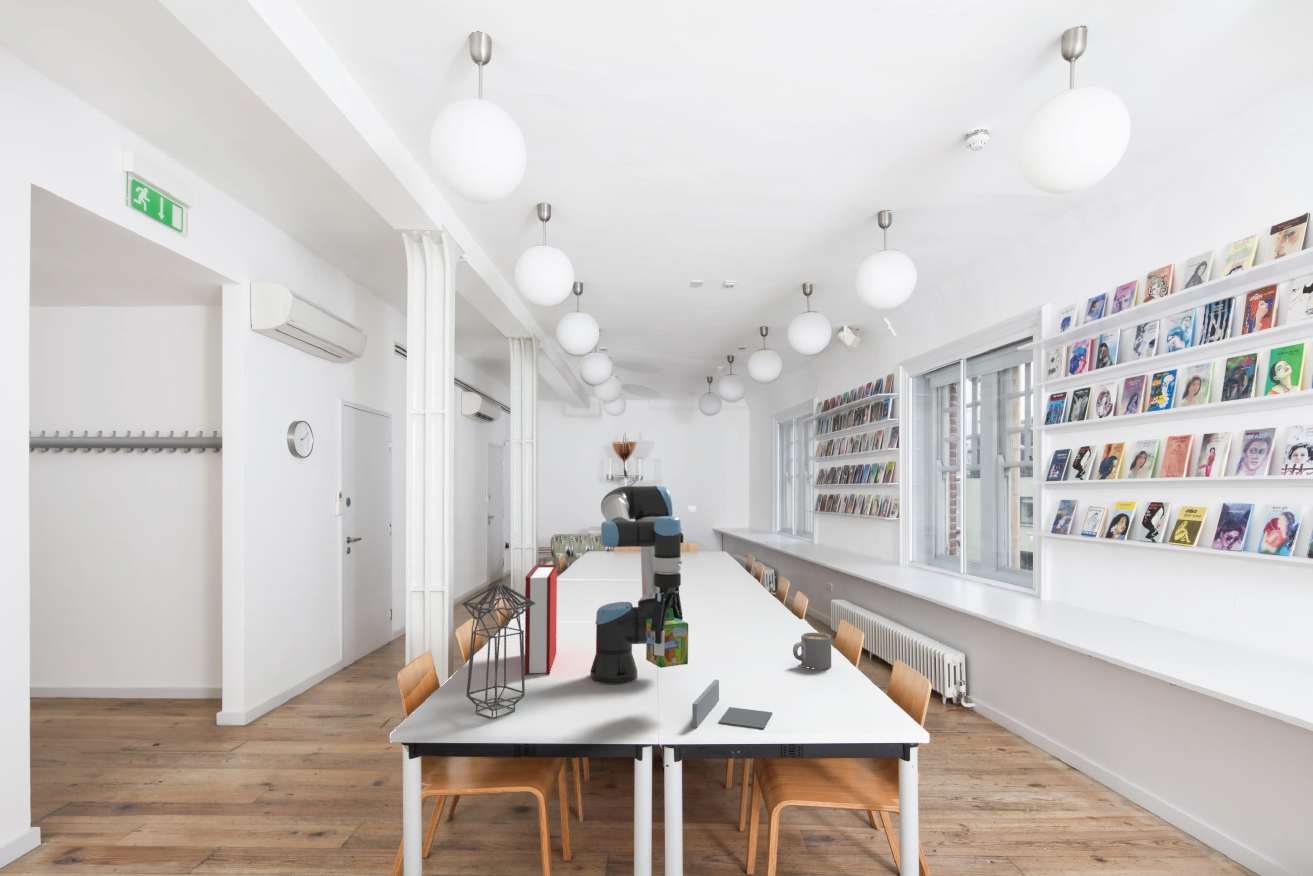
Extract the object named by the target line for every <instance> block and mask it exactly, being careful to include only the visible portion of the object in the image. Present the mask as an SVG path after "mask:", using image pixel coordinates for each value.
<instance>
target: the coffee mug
mask: <svg viewBox="0 0 1313 876" xmlns="http://www.w3.org/2000/svg"><path fill="white" fill-rule="evenodd" d="M800 639H801V641H798V642H795V643H794V644H793V648H792V653H793V654H792V655H793V657H794V658H795V659H796V660H798V661H800V662H801V666H802V665H803V666H805V667H804V668H806V667H809V668H814V669H813V670H815V669H824V670H828V669H827V668H829V669H831V668H832V636H831V635H830V634H828V633H824V632H804V633H802V634H801V638H800ZM800 647H801V654H798V650H799V648H800ZM803 666H802V667H803ZM830 667H831V668H830ZM809 668H808V669H809Z"/></svg>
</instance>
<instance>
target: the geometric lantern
mask: <svg viewBox="0 0 1313 876" xmlns="http://www.w3.org/2000/svg"><path fill="white" fill-rule="evenodd" d="M484 594H485V595H484ZM482 595H484V596H482ZM491 595H492V596H491ZM497 595H498V597H497ZM480 596H482V598H481V599H480V600H478V601H477V602H476V601H475V602H471V601H473V600H475V599H477V598H479V597H480ZM489 597H490V601H488V600H489ZM518 597H519V598H520V599H522V600H524V601H521V600H520V599H519V598H518ZM501 600H502V603H503V606H504V607H503V606H502V607H501V606H499V605H500V601H501ZM526 601H527V602H526ZM506 602H507V603H506ZM487 604H488V608H487V607H486V608H485V607H484V608H483V606H484V605H487ZM507 604H508V605H509V606H510V607H507ZM525 604H527V605H525ZM533 604H534V605H535V602H533V601H531V600H530V599H528V598H526V596H524V595H522V594H521V593H520V592H518V591H516V590H514V589H513V588H511V587H509V586H507V585H506V584H504V583H495V584H494V585H492V586H490V587H488V589H486V590H484V591H482V592H480V593H478V594H477V595H475V596H473V597H471V598H469V599H467V600H465V601H464V602H463V603H461V605H462V606H463V607H464V608H465V609H466V610H467V611H468V613H469V614H470V615H471V616H472V620H473V621H472V626H471V630H470V631H471V633H470V634H471V635H470V647H469V648H470V649H469V661H468V670H467V671H468V672H467V683H466V695H465V696H466V698H468V699H469V700H470V701H471V703H473V704H474V706H475V711H474V712H475V714H476V713H477V715H479V714H480V716H482V715H483V717H485V716H486V718H488V719H492V720H495V719H498V718H500V716H501V717H504V716H506V715H509V714H511V712H512V713H515V712H516V704H517V703H519V702H520V701H521V700H522V699H524V697H525V696H526V691H525V690H526V688H525V687H526V686H525V684H526V683H525V681H526V679H525V636H524V635H525V630H522V628H521V627H522V626H521V616H520V615H522V614H524V613H525V611H526V610H527V609H528V608H529V607H531V606H532V605H533ZM479 605H480V606H479ZM496 606H497V607H496ZM495 607H496V608H495ZM525 607H526V608H525ZM470 608H471V609H472V610H470ZM520 609H521V611H519V610H520ZM501 610H505V611H506V612H507V616H506V615H505V614H504V613H503V611H501ZM475 611H476V612H477V616H475ZM492 611H493V612H494V611H497V612H498V613H499V614H500V615H502V616H503V618H504V620H503V621H502V623H501V624H499V623H498V622H497V621H496V619H495V617H494V616H493V615H492V613H491V612H492ZM510 611H513V613H511V616H510ZM487 614H489V615H490V616H491V618H492V619H493V621H494V622H495V623H496V626H493V627H489V628H488V627H487V626H486V624H485V622H484V620H483V618H484V617H485V616H486V615H487ZM514 619H515V620H516V621H517V625H518V628H512V627H508V626H509V623H510V622H511V621H512V620H514ZM475 620H477V621H476V624H475ZM506 621H508V622H507V623H506V624H505V622H506ZM479 622H481V624H482V626H483V629H482V628H481V629H478V626H479ZM504 624H505V625H504ZM474 625H475V626H474ZM503 625H504V626H503ZM493 629H497V630H496V631H495V633H493V635H491V634H490V632H489V630H493ZM501 629H504V630H503V631H504V635H501ZM507 629H508V630H513V631H517V632H516V633H510V634H507ZM482 631H485V632H486V634H487V635H485V634H482V633H479V632H482ZM477 635H478V636H481V637H485V638H488V642H487V645H488V646H487V659H486V661H487V662H486V678H485V688H481V689H478V690H477V689H476V690H473V691H471V682H472V673H473V664H474V658H475V657H474V656H475V647H476V640H477V639H476V638H477V637H476V636H477ZM496 635H497V636H496ZM515 635H519V654H520V655H519V656H520V674H521V675H520V676H521V690H520V689H517V688H513V687H509V686H507V637H510V636H515ZM503 637H504V638H503ZM501 638H503V639H504V640H503V642H504V644H503V645H504V646H503V647H504V648H503V652H504V653H503V659H504V660H503V685H498V671H499V669H498V668H499V655H500V654H499V653H500V643H501V642H500V640H501ZM491 639H494V685H493V686H489V676H490V675H489V671H490V670H489V669H490V658H491V657H490V654H491V652H490V651H491ZM491 689H492V690H493V689H494V697H492V698H490V699H488V693H489V692H488V690H491ZM498 689H502V691H501V692H500V694H499V696H498ZM505 689H507V690H510V691H513V692H516V693H520V695H517V696H513V697H509V698H506V699H505V698H501V696H502V694H503V693H504V691H505ZM481 692H485V693H484V694H485V695H484V700H482V699H479V698H476V697H473V696H472V695H473V694H478V693H481ZM514 700H515V701H514ZM477 702H478V703H477ZM505 702H508V703H511V704H507V705H505V704H501V703H505ZM481 704H484V705H486V706H484V705H481ZM494 705H496V706H494ZM491 706H492V707H494V709H493V708H492V707H491ZM498 706H500V707H498ZM511 706H513V707H511ZM478 707H479V708H480V709H478ZM506 707H507V709H509V708H510V709H511V710H510V711H508V712H505V713H503V714H499V715H498V710H500V709H501V710H502V709H506ZM485 709H486V710H488V711H491V716H489V715H487V714H484V713H480V712H481V711H483V710H485ZM480 710H481V711H480ZM477 711H478V712H477ZM494 711H495V716H494ZM503 715H504V716H503Z"/></svg>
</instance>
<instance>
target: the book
mask: <svg viewBox="0 0 1313 876" xmlns="http://www.w3.org/2000/svg"><path fill="white" fill-rule="evenodd" d="M557 578H558V565H556V564H536V565H534V566H533V567H532V569H531V570H530V571H529V572H528V573H527V574H526V575H525V597H526V598H528V599H530V600H531V601H533V602H535V605H534V604H533V605H532V606H531V607H529V608H528V609H527V610H526V611H524V613H525V614H524V615H525V617H524V619H525V622H524V628H525V629H524V635H525V636H524V676H527V675H529V674H547V675H549V674H551V672H550V671H552V669H551V668H553V666H552V665H554V662H555V659H556V656H555V655H557V619H558V618H557V612H558V611H557V603H558V602H557V600H558V599H557V597H558V596H557V595H558V593H557V591H558V584H557V583H558V579H557ZM525 602H527V601H525ZM524 605H527V604H524ZM525 608H526V607H524V609H525ZM526 674H527V675H526Z"/></svg>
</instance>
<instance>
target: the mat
mask: <svg viewBox="0 0 1313 876" xmlns="http://www.w3.org/2000/svg"><path fill="white" fill-rule="evenodd" d="M772 715H773V712H770V711H764V710H757V709H756V710H755V709H748V708H741V707H732V706H729V707H728V708H727V710H726V711H725V713H724V714H723V715H722V716H721V718H720V719H719V720H718V723H717V724H719V723H720V725H726V724H727V725H728V726H735V727H741V728H742V727H744V728H749V729H750V728H751V729H756V728H757V729H758V730H764V729H765V728H766V726H767V724H768V723H767V722H769V720H770V719H771V717H772Z"/></svg>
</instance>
